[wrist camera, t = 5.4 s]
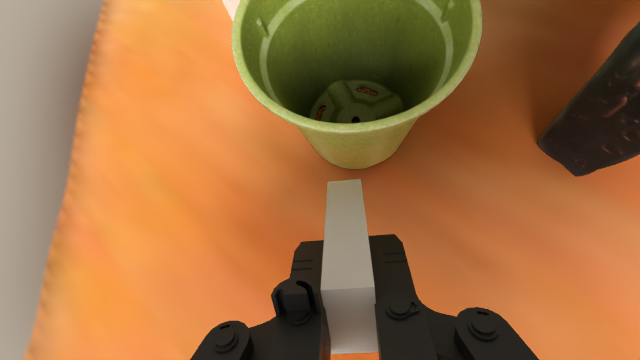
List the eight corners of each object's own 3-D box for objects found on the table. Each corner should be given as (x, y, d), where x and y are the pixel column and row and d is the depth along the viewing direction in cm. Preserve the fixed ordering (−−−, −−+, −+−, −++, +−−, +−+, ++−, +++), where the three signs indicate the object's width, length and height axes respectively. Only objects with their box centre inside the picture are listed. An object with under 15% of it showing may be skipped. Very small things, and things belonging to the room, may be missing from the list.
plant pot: (308, 48, 23) (277, -84, 15) (449, 73, 21) (503, -62, 13) (262, 173, 21) (194, 100, 12) (415, 214, 19) (454, 160, 10)
